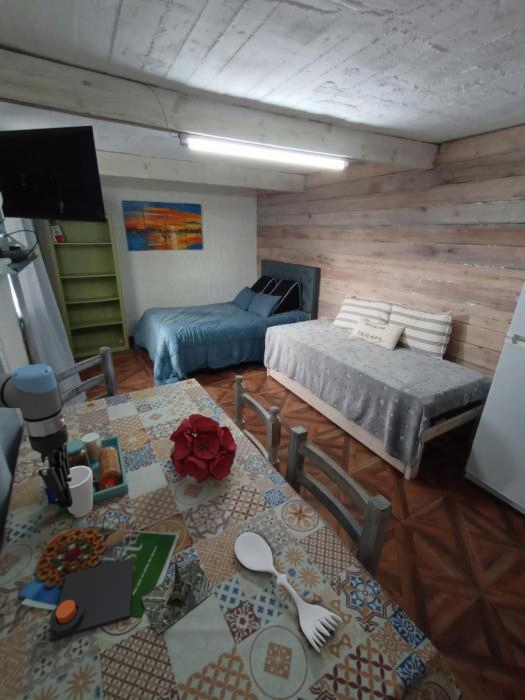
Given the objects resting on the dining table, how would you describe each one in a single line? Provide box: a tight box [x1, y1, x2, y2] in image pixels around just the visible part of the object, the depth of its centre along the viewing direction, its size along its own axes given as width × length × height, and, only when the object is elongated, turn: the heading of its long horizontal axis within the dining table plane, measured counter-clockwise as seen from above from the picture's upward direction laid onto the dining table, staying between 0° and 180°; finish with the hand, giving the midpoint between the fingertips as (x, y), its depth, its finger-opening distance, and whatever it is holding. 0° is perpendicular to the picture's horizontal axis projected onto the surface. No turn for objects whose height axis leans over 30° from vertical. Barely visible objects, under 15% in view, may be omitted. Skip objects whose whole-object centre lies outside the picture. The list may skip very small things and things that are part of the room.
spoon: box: [233, 531, 344, 653], centre depth 79 cm, size 9×32×4 cm, turn 41°
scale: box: [48, 557, 135, 642], centre depth 75 cm, size 16×14×3 cm
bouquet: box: [168, 413, 238, 485], centre depth 113 cm, size 22×24×30 cm
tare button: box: [56, 600, 76, 624], centre depth 70 cm, size 4×4×2 cm
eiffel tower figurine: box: [140, 558, 217, 635], centre depth 75 cm, size 15×10×13 cm
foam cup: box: [66, 465, 94, 519], centre depth 97 cm, size 10×9×13 cm
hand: (66, 505), depth 82 cm, fingers closed
